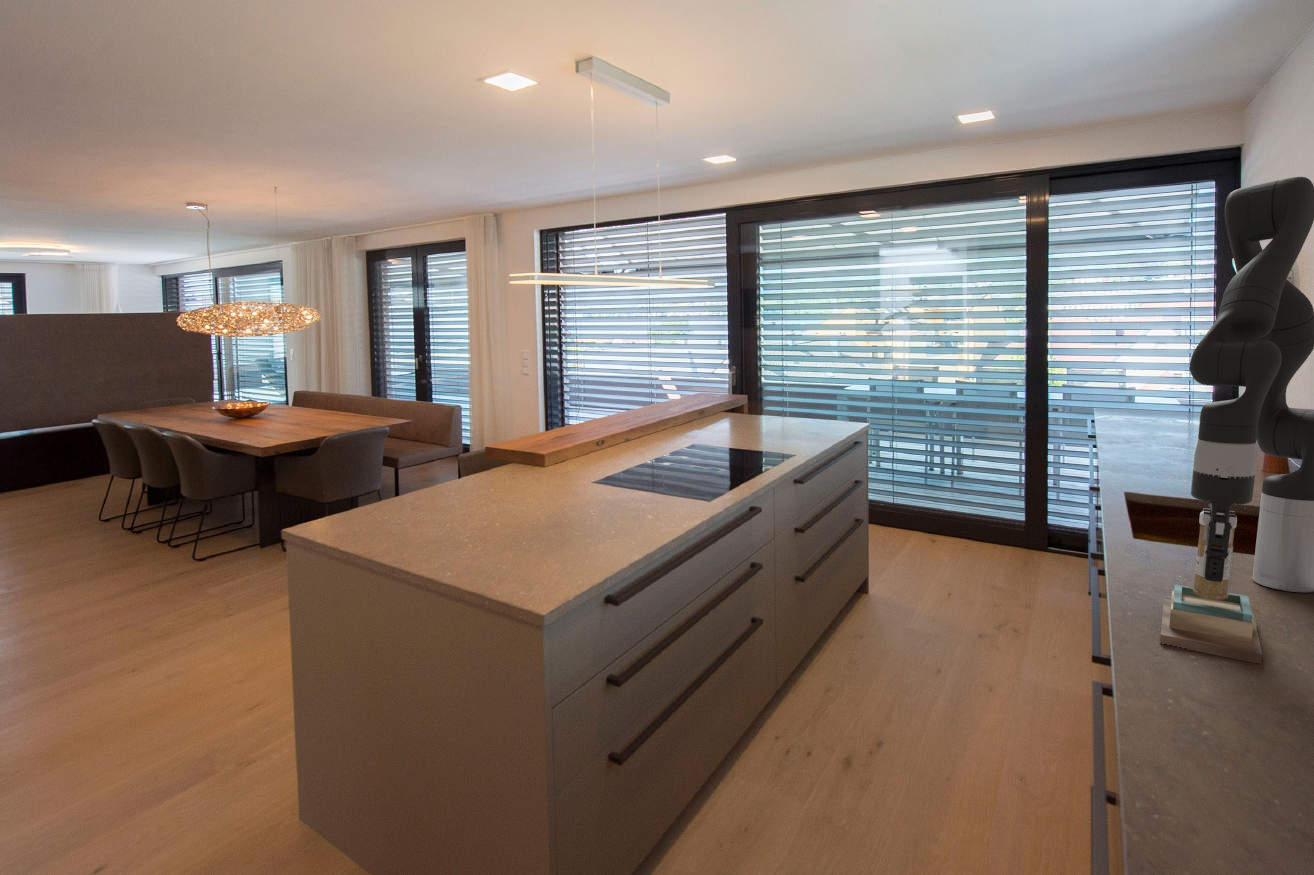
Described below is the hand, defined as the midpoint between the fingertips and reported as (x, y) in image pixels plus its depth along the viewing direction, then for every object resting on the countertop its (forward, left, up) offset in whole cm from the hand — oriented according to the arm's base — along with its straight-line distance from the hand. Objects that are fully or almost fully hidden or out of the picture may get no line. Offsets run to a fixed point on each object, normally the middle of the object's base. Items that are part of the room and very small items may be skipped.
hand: (1212, 575), depth 112 cm
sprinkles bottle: (0, 0, -3) cm, 3 cm away
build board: (0, 0, -9) cm, 9 cm away
